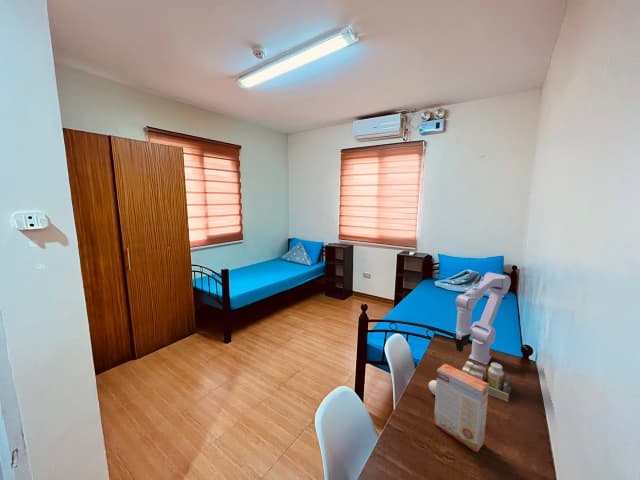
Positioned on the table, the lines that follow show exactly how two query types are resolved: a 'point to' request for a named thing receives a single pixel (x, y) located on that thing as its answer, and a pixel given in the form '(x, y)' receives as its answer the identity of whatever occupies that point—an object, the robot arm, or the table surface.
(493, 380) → the supplement bottle
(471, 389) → the cracker box
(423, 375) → the table surface
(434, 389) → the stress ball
